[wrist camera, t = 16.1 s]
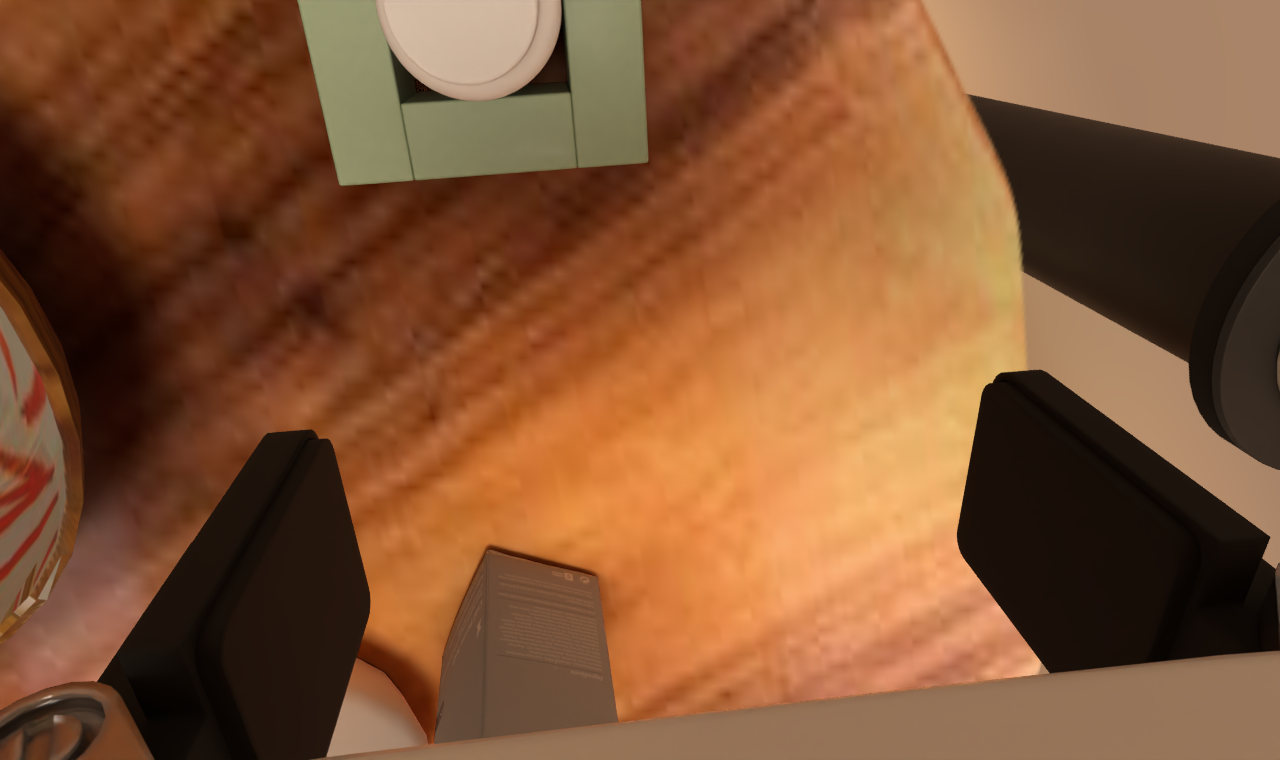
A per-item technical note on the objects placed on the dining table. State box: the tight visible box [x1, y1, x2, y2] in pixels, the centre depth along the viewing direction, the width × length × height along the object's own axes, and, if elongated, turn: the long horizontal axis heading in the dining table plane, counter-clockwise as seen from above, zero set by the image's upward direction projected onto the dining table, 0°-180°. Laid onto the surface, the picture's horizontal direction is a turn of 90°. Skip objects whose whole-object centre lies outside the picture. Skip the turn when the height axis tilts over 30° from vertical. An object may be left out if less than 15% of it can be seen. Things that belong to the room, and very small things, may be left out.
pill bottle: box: [375, 0, 562, 101], centre depth 24 cm, size 5×5×10 cm
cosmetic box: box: [434, 549, 618, 744], centre depth 34 cm, size 8×7×16 cm
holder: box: [297, 0, 648, 186], centre depth 27 cm, size 11×11×4 cm
